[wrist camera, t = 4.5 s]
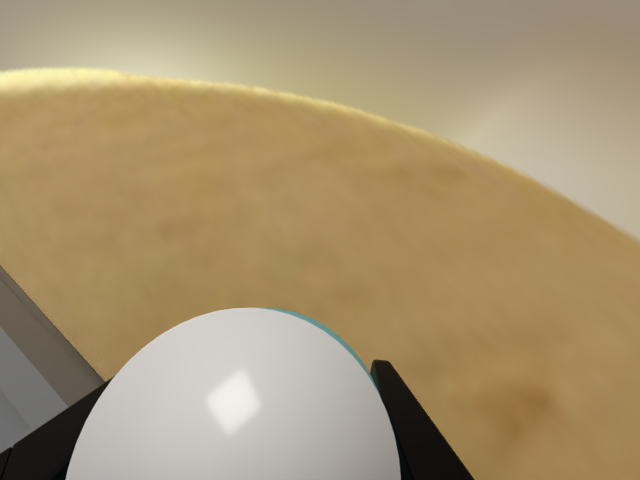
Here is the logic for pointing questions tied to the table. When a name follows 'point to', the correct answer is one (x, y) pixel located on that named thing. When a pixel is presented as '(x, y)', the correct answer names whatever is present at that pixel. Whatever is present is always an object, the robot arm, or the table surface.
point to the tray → (35, 367)
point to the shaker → (240, 407)
